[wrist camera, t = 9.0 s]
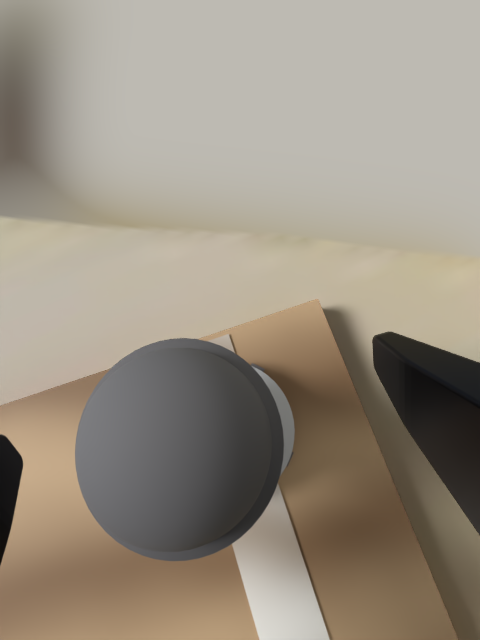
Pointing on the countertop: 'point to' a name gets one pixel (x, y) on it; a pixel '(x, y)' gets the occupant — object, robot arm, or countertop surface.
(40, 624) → the board
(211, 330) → the countertop surface
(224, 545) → the grey domed cylinder
